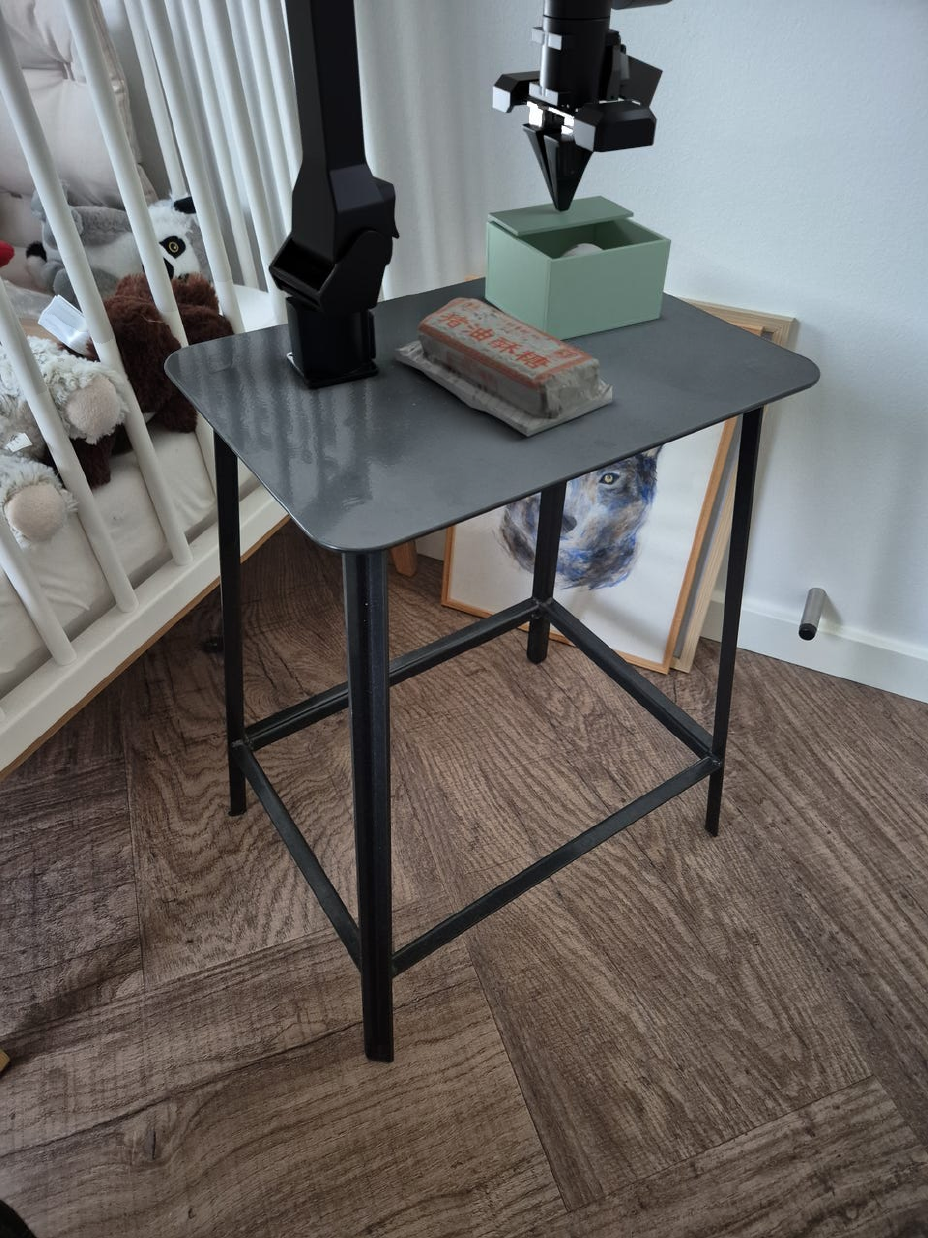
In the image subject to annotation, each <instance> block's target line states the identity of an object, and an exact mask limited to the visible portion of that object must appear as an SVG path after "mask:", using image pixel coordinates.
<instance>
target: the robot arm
mask: <svg viewBox="0 0 928 1238" xmlns="http://www.w3.org/2000/svg"><path fill="white" fill-rule="evenodd" d="M673 1H674V0H543V4H542V5H543V6H542V21H541V22H542V23H541V26H533V27H532V30H531V33H532V34H531V42H533V43H536V44H539V45H540V60H539V70H530V71H519V72H509V73H508V72H507V73H501V75H500V76H499V77H498V79H497V80H496V82H494V84H493V85H492V108H493V109H495V110H497V111H499V112H501V113H504V114H511V113H512V112H513V110H514V108H515V107H520V106H528V107H529V122H526V123H523V124H522V125H521V126H522V131H523V132H524V133H525V134H526V136H527V138H528V141H529V144H530V146H531V148H532V150H533V153H534V156H535V158H536V161H537V162H538V165H539V168H540V170H541V173H542V177H543V179H544V181H545V184H546V187H547V190H548V193H549V195H550V198H551V201H552V203H553V204H554V207H555V209H556V210H558V211H560V212H561V211H567V210H568V209H569V208H570V205H571V203H572V200H574V198H575V195H576V192H577V190H578V187H579V185H580V183H581V180H582V178H583V175H584V173H585V171H586V168H587V166H588V164H589V162H590V160H591V158H592V156H593V155H594V153H609V152H617V151H623V150H624V151H625V150H630V149H631V150H632V149H638V148H639V149H640V148H645V147H652V146H653V145H654V144H655V137H656V129H657V123H658V118H657V117H656V116H655V114H654V112H653V111H652V109H651V108H650V107H651V104H652V101H653V99H654V96H655V93H656V91H657V88H658V86H659V84H660V80H661V78H662V77H663V76H662V75H663V73H664V70H662V69H661V68H659V67H657V66H654V65H651V64H650V63H648V62H646V61H643V60H641V59H639V58H636V57H634V56H632V55H629V54H627V45H625V44H624V43H622V36H621V35H620V30H616V29H612V28H611V27H610V25H611V15H612V10H615V11H622V10H631V9H637V8H647V7H648V8H649V7H656V6H663V5H667V4H669V3H671V2H673ZM284 5H285V6H284V7H285V14H286V15H285V16H286V24H287V31H288V33H287V34H288V39H289V40H288V41H289V47H290V58H291V67H292V75H293V82H294V91H295V100H296V101H295V102H296V108H297V118H298V128H299V135H300V143H301V152H302V153H301V155H302V156H301V163H300V167H299V169H298V174H297V176H296V179H295V182H294V184H293V185H294V186H293V188H292V190H291V191H292V192H291V220H290V222H291V223H290V225H291V227H290V232H289V233H288V235H287V237H286V238H285V240H283V243H282V244H281V246H280V247H279V249H278V251H277V252H276V254H275V255H274V257H273V259H272V261H271V262H270V264H269V265H268V269H267V270H268V272H269V275H270V277H271V279H272V281H273V283H274V285H275V287H276V289H277V290H279V291H281V292H284V293H286V294H287V295H289V296H286V297H284V302H285V311H286V318H287V324H288V325H287V326H288V332H289V333H288V334H289V340H290V349H291V352H289V353H287V354H286V360H287V362H288V363H289V364H290V366H291V367H292V368H293V369H294V371H295V372H296V373H297V375H298V376H299V377H300V378H301V379H302V381H303V382H304V383H305V385H306V386H307V387H308V388H311V389H314V388H321V387H324V386H329V385H334V384H339V383H343V382H347V381H353V380H357V379H361V378H365V377H370V376H376V375H378V374H380V367H379V366H378V364H377V363H376V362H375V361H374V360H375V359H376V358H377V343H376V341H377V340H376V327H375V326H376V325H375V314H374V313H373V312H372V311H371V310H373V309H375V308H376V307H377V306H378V301H379V298H380V297H379V296H380V293H381V288H382V283H383V279H384V276H385V270H386V267H387V266H389V265H390V264H391V263H392V262H391V261H392V258H393V254H394V253H393V252H394V239H396V240H399V239H400V237H401V236H400V232H399V231H398V227H397V223H396V218H395V217H396V199H397V196H396V194H397V193H396V191H395V190H396V189H395V185H394V184H393V183H392V182H390V181H387V180H385V179H382V178H380V177H378V176H376V175H375V176H374V174H373V172H372V170H371V168H370V166H369V162H368V161H367V155H366V145H365V144H366V143H365V130H364V117H363V104H362V91H361V89H362V88H361V76H360V63H359V62H360V61H359V49H358V36H357V21H356V7H355V0H284Z"/></svg>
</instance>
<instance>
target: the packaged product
mask: <svg viewBox="0 0 928 1238" xmlns="http://www.w3.org/2000/svg"><path fill="white" fill-rule="evenodd" d="M417 337H418V339H417V340H414V341H411V342H409V343H408V342H407V343H405V344H404V346H403V347H402V348H393V350H394V353H395V359H396V361H398V362H401V363H403V364H405V365H408V366H410V367H413V368H415V369H417V370H419V371H421V372H422V373H424V374H425V375H426V376H427V377H428V378H430V379H431V380H433V381H434V382H436V383H437V384H438V385H440V386H442V387H444V388H445V389H446V390H448V391H449V392H451V393H452V394H454V395H455V396H456V397H458V398H459V399H460V400H461V401H462V402H463V403H465V404H466V405H467V406H468V407H469V408H472V409H476V410H479V411H482V412H486V413H488V414H490V415H492V416H493V417H495V418H497V419H499V420H501V421H503V422H505V423H506V424H507V425H509V426H510V427H512V428H513V429H515V430H517V431H518V432H520V433H522V434H523V435H524V436H526V437H527V438H528V437H530V436H533V435H536V434H537V433H540V432H543V431H545V430H548V429H551V428H553V427H556V426H558V425H560V424H563V423H565V422H568V421H570V420H573V419H575V418H577V417H580V416H582V415H586V414H588V413H589V412H592V411H594V410H597V409H600V408H601V407H604V406H606V405H609V404H611V403H613V384H608V383H607V384H606V383H605V381H603V380H602V379H600V375H601V373H602V369H601V362H600V360H598V359H597V358H596V357H593V356H591V355H590V354H587V353H586V352H585V351H582V350H581V349H578V348H576V347H575V346H572V345H571V344H568V343H566V342H564V341H563V340H558V339H556V338H554V337H552V336H550V335H548V334H546V333H544V332H542V331H540V330H538V329H536V328H534V327H532V326H530V325H528V324H526V323H524V322H521V321H519V320H518V319H515V318H513V317H512V316H510V315H507V314H506V313H504V312H503V311H502V310H500V309H499V310H498V309H497V308H495V307H493V306H491V305H489V304H488V303H485V302H483V301H481V300H479V299H476V298H465V297H456V298H454V299H452V300H450V301H449V302H448V303H447V304H445V305H444V306H442V307H440V308H439V309H437V311H434V312H432V313H430V314H428V315H427V316H426V317H425V318H424V319H422V320H421V321H420V322H419V323H418V326H417Z"/></svg>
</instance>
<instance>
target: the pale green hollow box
mask: <svg viewBox="0 0 928 1238" xmlns="http://www.w3.org/2000/svg"><path fill="white" fill-rule="evenodd" d="M578 244H592V245H595V246H597V247H599V248H601V249H602V251H596V252H591V253H585V254H580V255H574V256H569V257H563V258H560V257H561V256H562V255H563V254H564V253H565V252H566V251H567V250H568V249H570V248H571V247H573V246H575V245H578ZM671 245H672V239H670V238H669V237H666V236H665V235H663V234H661V233H659V232H657V231H655V230H652V229H650V228H649V227H647V226H645V225H642V224H640V223H639V222H637V221H634V219H630V217H629V218H623V219H617V220H611V221H605V222H599V223H593V224H587V225H581V226H575V227H570V228H564V229H558V230H552V231H546V232H540V233H534V234H528V235H522V236H517V235H515V234H513V233H512V232H510V231H509V230H507V229H506V228H504V227H502V226H501V225H499V224H498V223H496V222H495V221H493V220H489V221H486V245H485V247H486V248H485V249H486V250H485V251H486V254H485V290H484V292H485V293H484V295H485V296H484V298H485V300H487V301H488V302H489V303H490V304H492V305H493V306H495V307H496V308H498V309H499V311H501V312H503V313H505V314H507V315H510V316H512V317H513V318H515V319H518V320H519V321H521V322H524V323H526V324H528V325H530V326H532V327H534V328H536V329H538V330H540V331H542V332H544V333H546V334H548V335H550V336H552V337H554V338H556V339H558V340H560V341H563V340H567V339H573V338H578V337H581V336H586V335H590V334H595V333H600V332H604V331H608V330H614V329H618V328H622V327H628V326H631V325H636V324H641V323H646V322H650V321H654V320H658V319H660V314H661V309H662V303H663V302H662V301H663V296H664V289H665V282H666V277H667V270H668V264H669V258H670V251H671Z"/></svg>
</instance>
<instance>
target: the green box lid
mask: <svg viewBox="0 0 928 1238" xmlns="http://www.w3.org/2000/svg"><path fill="white" fill-rule="evenodd" d="M634 216H635V213H634V212H633V211H631V210H630V209H628V208H626V207H624V206H622V205H620V204H619V203H616V202H614V201H612V200H611V199H608V198H606V197H604V196H602V195H596V196H595V195H594V196H589V197H583V198H577V199H573V200H572V203H571V205H570V208H569V209H568V210H567V211H561V212H560V211H558V210H556V209H555V207H554V204H553V202H550V203H544V204H538V205H532V206H525V207H519V208H513V209H507V210H505V209H504V210H500V211H493V212H488V213H487V218H488V219H490V221H495V222H496V223H498V224H499V225H501V226H502V227H504V228H506V229H507V230H509V231H510V232H512V233H513V234H515V235H517V236H522V235H528V234H534V233H540V232H546V231H552V230H558V229H564V228H570V227H575V226H581V225H587V224H593V223H599V222H605V221H611V220H617V219H623V218H629V219H630V218H633V217H634Z"/></svg>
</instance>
